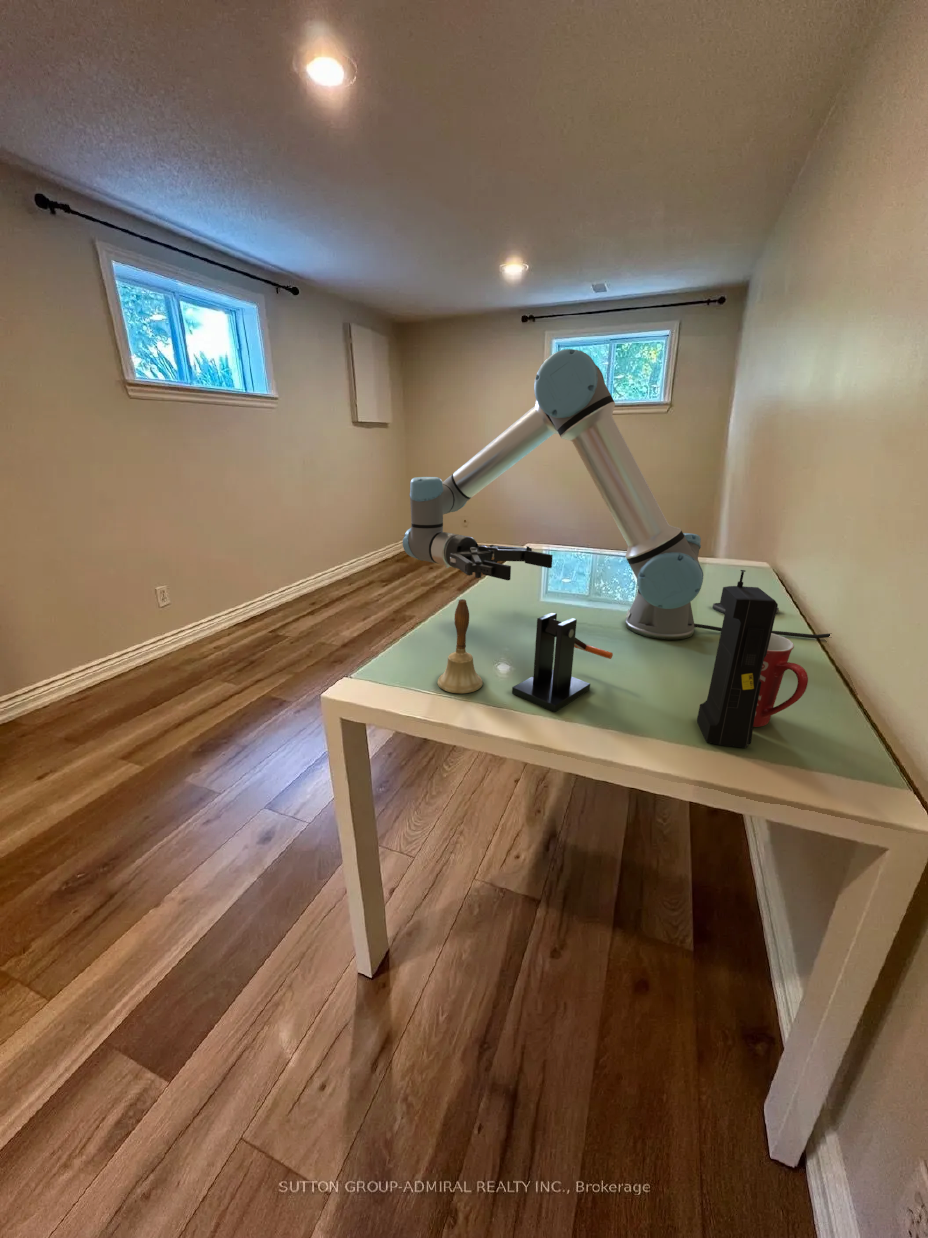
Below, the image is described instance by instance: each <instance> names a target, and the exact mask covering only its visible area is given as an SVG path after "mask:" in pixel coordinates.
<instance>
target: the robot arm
mask: <svg viewBox="0 0 928 1238" xmlns="http://www.w3.org/2000/svg"><path fill="white" fill-rule="evenodd" d="M533 383H534V385H533V391H534V397H535V404H534V406H532V407H531V408H530V409H529V410H528V411H525V413H524V414H523V415H521V416H520V417H519V418H518V419H516V421H514V422H513V423H512V424H511V425H509V427H507V428H506V429H504V431H502V432H501V433H500V434H499V435H498V436H497V437H495V438H494V439H493V440H491V441H490V442H489V443H488V444H487V445H485V446H484V447H483V448H481V450H479V451H478V452H477V453H475V455H473V456H472V457H471V458H470V459H468V460H467V461H466V462H465V463H464V464H463V465H461V466H460V467H459V468H458V469H456V470H455V471H454V472H453V473H452V474H450V476H448V477H447V478H446V479H445V480H442V479H441V477H437V476H418V477H417V476H415V477H413V478H411V480H410V484H409V485H410V487H409V491H410V492H409V500H410V501H409V502H410V504H409V505H410V522H411V524H410V528H408V529H407V530H406V532H405V533H404V536H403V538H402V548H403V550H404V552H405V553H406V554H407V555H408V556H409V557H411V558H414V559H417V560H418V561H422V562H423V561H425V562H429V563H434V564H437V565H442V566H444V567H445V568H446V569H449V568H452V569H457V570H459V571H461V572H462V573H464V574H465V575H466V576H473V574H474V578H476V579H481V578H482V575H484V576H487V577H491V578H496V579H500V580H504V581H511V579H512V578H511V575H512V566H511V565H508V564H504V563H499V562H524V564H528V565H532V566H537V567H541V568H547V569H552V567H553V556H554V555H553V554H550V553H544V552H540V551H533V548H532V547H530V546H528V545H527V546H526V547H521V546H520V547H519V546H506V545H505V546H503V545H495V544H489V546H486V545H480V544H478V542H477V540H476V539H474V538H473V537H472V536H468V535H463V534H457V533H451V532H445V531H444V515H446V514H450V513H455V512H458V511H459V510H461V509H463V507H465V506H466V504H467V502H469V501H470V500H471V499H472V498H473V497H474V496H475V495H477V494H478V493H480V492H481V491H482V490H483V489H484V488H486V487H487V486H489V485H490V484H491V483H493V481H495V480H496V479H497V478H499V477H500V476H501V475H503V474H504V473H505V472H507V471H508V470H510V469H511V468H512V467H513V466H514V465H516V464H517V463H518V462H520V461H521V460H522V459H524V457H525V458H526V456H527V455H529V454H530V453H531V452H532V451H534V450H535V449H537V448H538V447H539V446H541V444H543V443H544V442H545V441H546V440H549V438H550V437H552V436H554V435H556V434H557V435H559V437H560V439H562V440H565V441H570V442H571V443H572V444H573V446H574V448H575V449H576V451H577V453H578V455H579V457H580V459H581V461H582V463H583V464H584V467H585V468H586V470H587V472H588V474H589V476H590V478H591V479H592V481H593V483H594V485H595V487H596V489H597V490H598V492H599V494H600V496H601V498H602V500H603V502H604V504H605V505H606V507H607V510H608V512H609V513H610V515H611V517H612V518H613V520H614V523H615V524H616V526H617V528H618V530H619V532H620V533H621V536H622V537H623V539H624V541H625V543H626V545H627V549H626V553H625V556H624V557H625V559H626V562H627V563H628V565H629V567H630V569H631V570H632V572H633V574H634V576H635V578H636V583H637V584H636V585H637V593H636V596H635V598H634V600H633V602H632V604H631V606H630V607H629V608H628V610H627V611H626V613H625V616H626V617H625V623H624V624H625V627H626V628H627V629H628V630H630V631H631V632H633V633H635V634H637V635H640V636H643V637H647V638H652V639H656V640H668V641H669V640H670V641H671V640H672V641H675V640H683V639H684V640H685V639H688V638H691V636H693V635H694V631H695V628H698V629H703V630H704V629H705V630H711V631H717V632H721V630H722V627H719V626H714V625H708V624H703V623H702V624H701V623H695V619H694V614H693V609H692V608H693V607H692V603H691V602H692V601H694V599H695V598H696V597H697V596H698V595H699V593H700V591H701V589H702V585H703V583H704V571H703V568H702V566H701V564H700V561H699V554H700V550H701V548H702V545H701V542H702V538H701V536H700V535H699V534H696V533H689V532H683V530H682V529H681V527H679V526H678V527H677V526H673V525H671V524H669V522H668V519H667V518H666V516H665V514H664V513H663V510H662V509H661V506H660V504H659V502H658V500H657V499H656V497H655V495H654V493H653V492H652V489H651V488H650V486H649V484H648V481H647V480H646V478H645V475H644V474H643V472H642V470H641V468H640V466H639V464H638V462H637V460H636V459H635V457H634V455H633V453H632V451H631V449H630V447H629V445H628V443H627V441H626V440H625V438H624V437H623V434H622V432H621V431H620V428H619V426H618V425H617V423H616V421H615V418H614V417H613V414H614V409H615V406H616V402H615V400H614V399H613V398H614V397H613V396H612V394H611V393H610V391H609V388H608V386H607V385H606V383H605V378H604V375H603V373H602V371H601V369H600V368H599V366H598V365H597V364H596V362H595V361H594V359H593V358H592V357H591V356H590V355H589V354H587V352H585V351H582V350H579V349H572V348H566V349H560V350H558V351H556V352H554V353H552V354H551V355H550V356H548V357H547V358H546V359H545V360H544V361H543V362H542V363H541V365H540V367H539V368H538V370H537V372H536V375H535V378H534V382H533ZM772 633H773V634H776V635H779V636H784V637H785V636H786V637H795V638H796V637H797V638H805V639H825V638H826V639H827V638H830V637H829V636H830V634H831V633H820V634H817V633H816V634H814V633H813V634H811V633H802V632H791V631H781V630H772Z"/></svg>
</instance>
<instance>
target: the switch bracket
mask: <svg viewBox="0 0 928 1238" xmlns="http://www.w3.org/2000/svg"><path fill="white" fill-rule="evenodd" d="M557 617H558V613H555V612H550V613H547V614H544V615H542V616H540V617H538V618H536V619H537V620H536V633H535V644H534V645H535V648H534V662H533V676H531V677H529V678H527V679H525V680H523V681H521V682H519V683H517V684H516V685H514V686H512V689H511V694H512V695H515V696H516V697H519V698H521V699H523V700H526V701H528V702H530V703H533V704H535V705H537V706H539V707H542V708H543V709H545V710H548V711H550V712H552V713H556V712H557V711H559V710H561V709H562V708H564V707H565V706H567V705H569V704H570V703H572V702H573V701H575V700H577V699H578V698H580V697H581V696H583V695H584V694H586V693H588V692H589V691H590V690H591V683H590V682H587V681H585V680H582V679H579V678H577V677H574V676H572V673H573V665H574V655H575V647H574V644H575V637H576V632H577V621H578V619H576V618H573V617H571V618H569V619H566V620H564V621H561V622H562V623H560V624H557V634H556V637H554V636H551V635H550V634H548V633H547V632H545V629H546V627H547V624H548V622H549V619H554V620H557Z"/></svg>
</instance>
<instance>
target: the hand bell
mask: <svg viewBox="0 0 928 1238" xmlns="http://www.w3.org/2000/svg"><path fill="white" fill-rule="evenodd" d="M469 610H470V609H469V607H468V603H467V600H466V599H464V598H462V599H459V600H458V603H457V606H456V608H455V612H454V626H455V631H456V646H455V651H453V652H451V653H450V654H449V655H448V657H447V663H446V668H445V670H444V672H443V673H442V674H441V675H440V676H439V677H438V679H437V683H436V684H437V686H438V687H439V688H440V689H441V690H443V691H446V692H448V693H453V694H468V693H474V692H476V691H478V690H479V689H481V688H482V686H483V683H484V682H483V679H482V678H481V676H480V675H479V674H478V673H477V672H476V669H475V664H474V657H473V655H472V654H471V653H469V652H468V651H466V648H467V637H466V636H467V630H468V628H469V624H470V611H469Z"/></svg>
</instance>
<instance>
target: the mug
mask: <svg viewBox="0 0 928 1238" xmlns="http://www.w3.org/2000/svg"><path fill="white" fill-rule="evenodd" d="M794 648H795V644H794V643H793V641H792V640H790V639H788V638H787V637H785V636H783V635H776V634H773V633H771V637H770V641H769V646H768V650H767V654H766V657H765V658H764V661H763V666H762V670H761V675H760V679H759V680H760V681H761V682H762V683H761V688H760V693H759V698H758V703H757V708H756V713H755V719H754V725H753V728H759V727H763V726H766V725H768V724H769V722H770V720H771V716H773V715H775V714H778V713H779V712H782V711H784V710H785V709H787V708H789V707H790V706H793V705H794V704H795V703H796V702H798V701H799V700H800V699H801V698H802V697H803V696H804V694H805V692H806V690H807V687H808V683H809V676H808V672H807V671H806V670H805V668H804V667H803V666H801V665H800V664H798V663H796V662H790V661H789V659H790V656H791V653H792V651H793V650H794ZM788 670H790V671H792V672H793V673H794V674H795V676H796V679H797V685H796V688H795V690H794V692H793V694H792V695H791V696H790V697H789V698H788V699H786V700H785V701H784V702H782V703H780V704H778V705H776V706H775V704H776V701H777V697H778V693H779V691H780V688H781V684H782V682H783V678H784V675H785V672H786V671H788Z"/></svg>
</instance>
